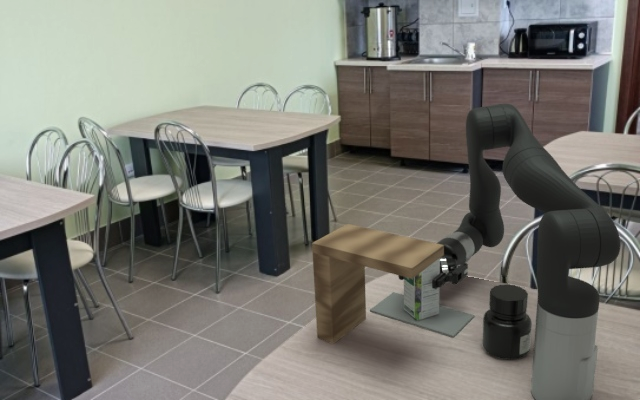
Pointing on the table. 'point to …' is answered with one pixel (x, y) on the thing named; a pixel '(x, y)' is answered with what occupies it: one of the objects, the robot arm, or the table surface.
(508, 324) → the ink bottle
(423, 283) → the syrup box
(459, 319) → the mat
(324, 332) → the shelf
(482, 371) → the table surface
